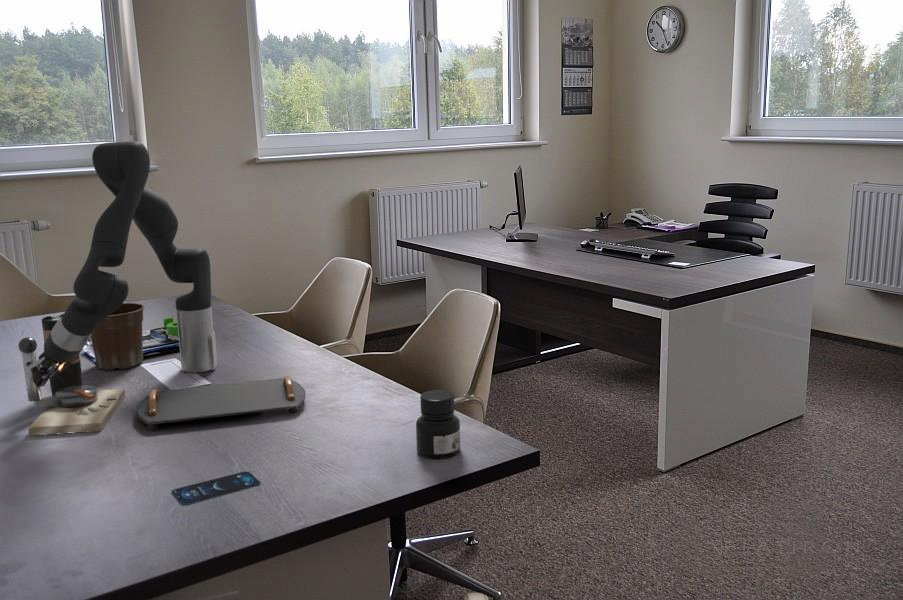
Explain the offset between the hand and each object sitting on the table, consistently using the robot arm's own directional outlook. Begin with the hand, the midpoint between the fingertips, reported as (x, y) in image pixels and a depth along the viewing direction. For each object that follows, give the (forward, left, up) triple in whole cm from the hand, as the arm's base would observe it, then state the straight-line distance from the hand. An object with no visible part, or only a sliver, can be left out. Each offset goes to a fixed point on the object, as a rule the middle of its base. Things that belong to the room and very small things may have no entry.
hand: (38, 383), depth 192 cm
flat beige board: (-8, -2, -9) cm, 12 cm away
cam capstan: (-5, -2, -7) cm, 9 cm away
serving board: (-41, 0, -9) cm, 42 cm away
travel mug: (0, -19, -9) cm, 21 cm away
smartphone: (-44, +45, -9) cm, 64 cm away
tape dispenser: (-18, -74, -9) cm, 77 cm away
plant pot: (-7, -44, -9) cm, 45 cm away
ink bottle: (-87, +36, -9) cm, 95 cm away
